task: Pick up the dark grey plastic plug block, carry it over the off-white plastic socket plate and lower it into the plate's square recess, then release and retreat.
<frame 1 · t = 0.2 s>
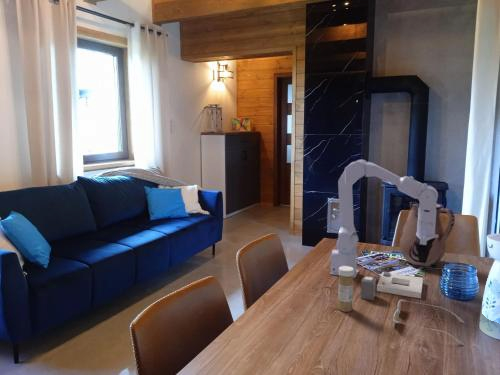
hand: (423, 259, 138), 10 cm above the table, fingers open, 7 cm apart
socket plate: (400, 287, 139), on the table
sprinkles bottle: (345, 309, 123), on the table
plug: (367, 296, 131), on the table
ceramic pitcher: (424, 264, 162), on the table
eyeglasses: (428, 327, 113), on the table
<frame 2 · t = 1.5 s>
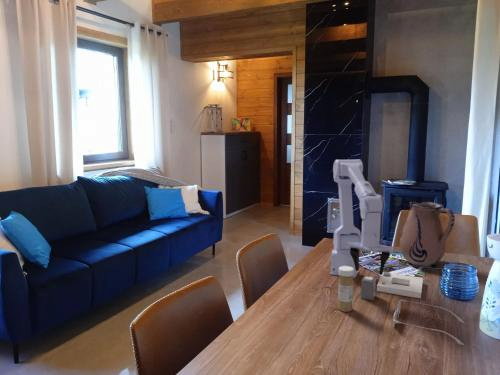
hand: (369, 272, 130), 9 cm above the table, fingers open, 7 cm apart
nothing on the table moved.
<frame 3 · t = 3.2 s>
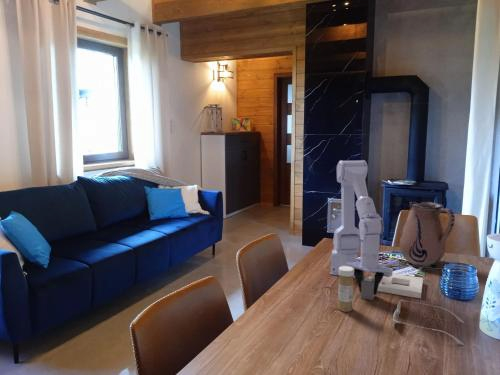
hand: (368, 292, 131), 2 cm above the table, fingers closed on plug, 4 cm apart
plug: (367, 296, 131), on the table, touching gripper
everything else where it was.
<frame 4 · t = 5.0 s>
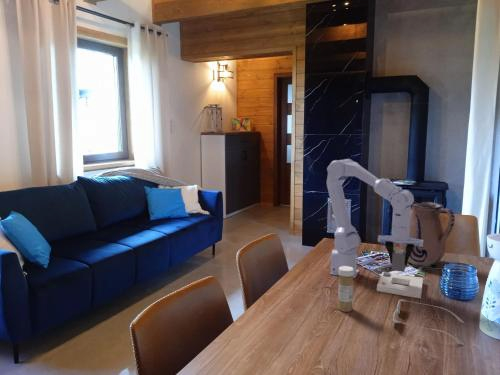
hand: (398, 263, 137), 9 cm above the table, fingers closed on plug, 4 cm apart
plug: (398, 269, 137), point 7 cm above the table, touching gripper
everything else where it was.
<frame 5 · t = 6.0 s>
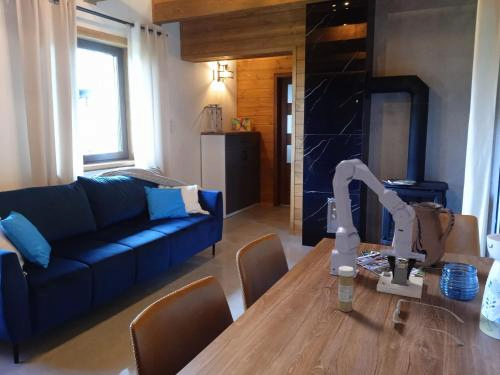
hand: (400, 277, 138), 3 cm above the table, fingers closed on plug, 4 cm apart
plug: (400, 283, 139), point 2 cm above the table, touching gripper
everything else where it was.
when the fingers open (3 cm above the table, at t = 6.9 s): plug drops 1 cm, resting in socket plate.
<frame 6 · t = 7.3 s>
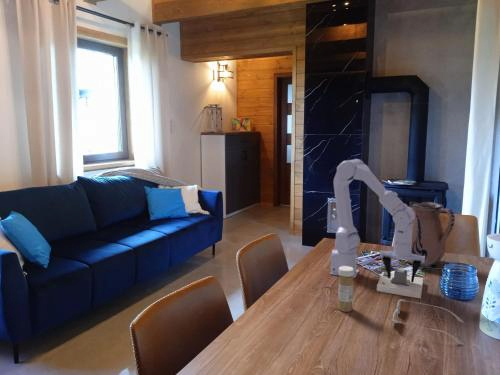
hand: (400, 279, 139), 3 cm above the table, fingers open, 7 cm apart
plug: (400, 287, 139), resting in socket plate
everything else where it was.
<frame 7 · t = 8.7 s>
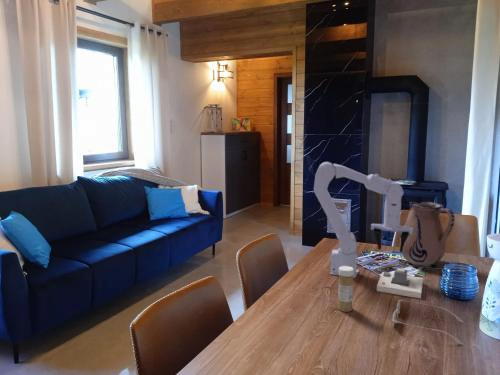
hand: (390, 250, 147), 10 cm above the table, fingers open, 7 cm apart
nothing on the table moved.
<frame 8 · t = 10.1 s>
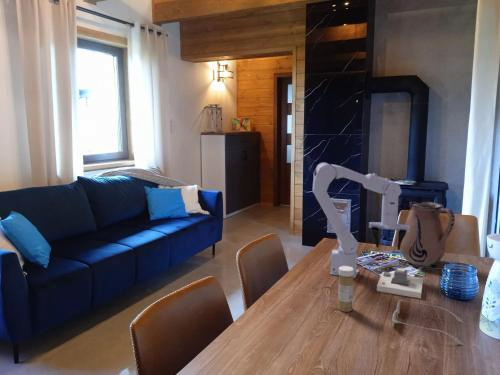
hand: (388, 247, 150), 10 cm above the table, fingers open, 7 cm apart
nothing on the table moved.
at the end: plug 0.2 cm off-centre on the socket plate, point 0.0 cm above the socket plate's base; plug tilted 0°; the gripper is holding nothing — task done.
